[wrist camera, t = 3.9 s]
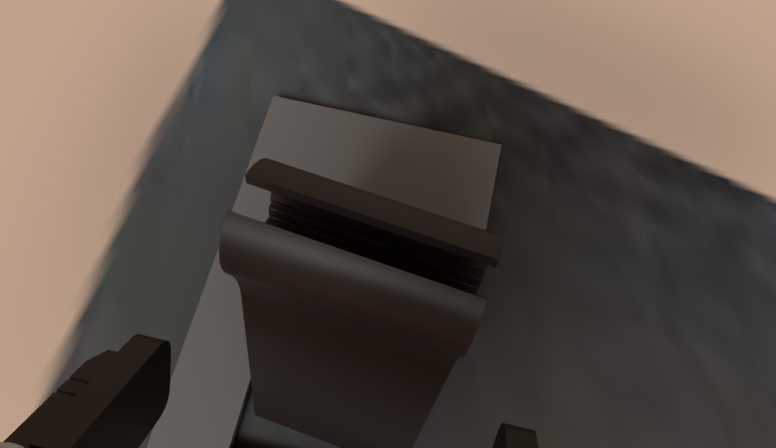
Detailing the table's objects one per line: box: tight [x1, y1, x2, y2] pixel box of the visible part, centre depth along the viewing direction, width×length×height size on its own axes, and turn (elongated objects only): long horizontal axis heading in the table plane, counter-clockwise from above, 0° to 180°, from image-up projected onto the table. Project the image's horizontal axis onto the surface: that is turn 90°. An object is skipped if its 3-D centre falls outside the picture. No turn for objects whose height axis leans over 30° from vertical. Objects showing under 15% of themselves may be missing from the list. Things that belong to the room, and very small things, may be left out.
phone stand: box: [219, 158, 503, 448], centre depth 18 cm, size 9×6×12 cm, turn 160°
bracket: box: [147, 96, 501, 448], centre depth 24 cm, size 11×17×1 cm, turn 167°
